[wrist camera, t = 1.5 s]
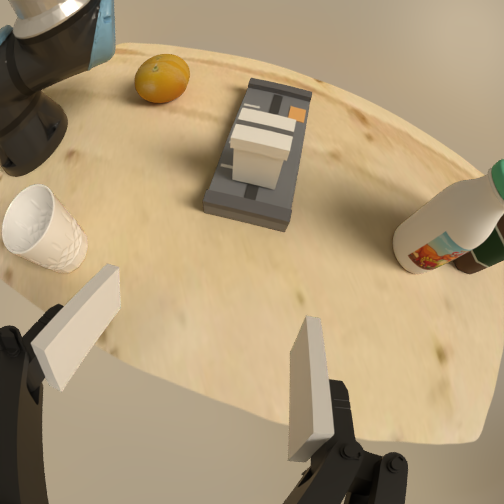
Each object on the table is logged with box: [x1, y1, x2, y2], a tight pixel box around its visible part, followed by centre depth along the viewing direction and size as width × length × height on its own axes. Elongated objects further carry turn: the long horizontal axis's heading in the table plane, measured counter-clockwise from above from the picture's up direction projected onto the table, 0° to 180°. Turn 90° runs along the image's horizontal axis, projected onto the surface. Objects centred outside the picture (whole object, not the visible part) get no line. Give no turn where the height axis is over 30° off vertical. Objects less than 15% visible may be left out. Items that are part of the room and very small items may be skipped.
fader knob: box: [230, 108, 296, 190], centre depth 30 cm, size 5×6×8 cm
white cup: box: [2, 184, 88, 273], centre depth 27 cm, size 8×8×10 cm
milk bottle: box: [393, 159, 504, 274], centre depth 26 cm, size 8×8×20 cm
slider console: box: [203, 78, 312, 232], centre depth 37 cm, size 24×10×3 cm, turn 167°
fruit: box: [135, 54, 190, 103], centre depth 37 cm, size 9×8×8 cm
